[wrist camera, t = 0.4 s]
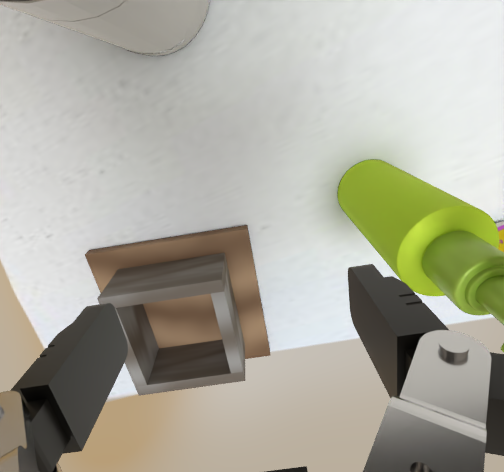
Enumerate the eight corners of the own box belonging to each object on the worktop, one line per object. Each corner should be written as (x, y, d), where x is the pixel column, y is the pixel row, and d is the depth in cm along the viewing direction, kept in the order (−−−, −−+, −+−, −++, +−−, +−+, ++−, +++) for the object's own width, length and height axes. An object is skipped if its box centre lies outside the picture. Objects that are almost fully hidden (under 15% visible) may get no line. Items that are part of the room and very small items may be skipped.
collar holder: (89, 250, 33) (58, 282, 27) (247, 225, 32) (247, 253, 26) (137, 367, 39) (120, 413, 34) (269, 349, 38) (274, 392, 33)
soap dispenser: (409, 149, 29) (683, 246, 11) (391, 220, 32) (587, 392, 14) (345, 145, 29) (517, 239, 11) (332, 218, 32) (453, 389, 14)
